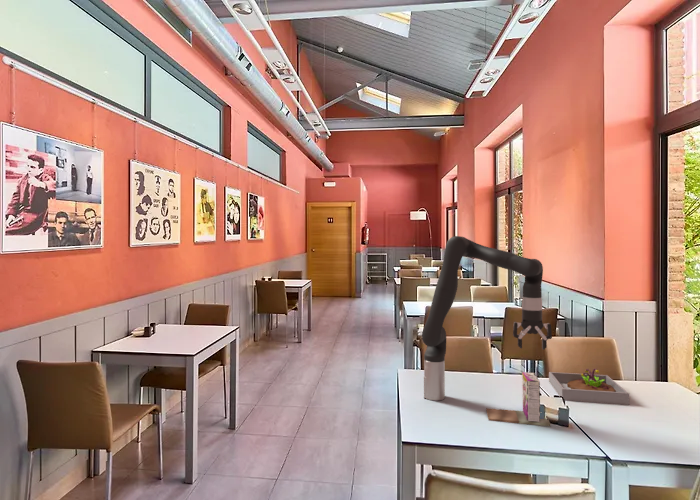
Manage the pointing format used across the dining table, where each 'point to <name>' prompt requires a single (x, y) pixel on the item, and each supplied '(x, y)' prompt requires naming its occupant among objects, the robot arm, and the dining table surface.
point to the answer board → (512, 417)
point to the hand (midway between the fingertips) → (532, 348)
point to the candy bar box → (531, 396)
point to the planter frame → (588, 395)
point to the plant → (590, 383)
